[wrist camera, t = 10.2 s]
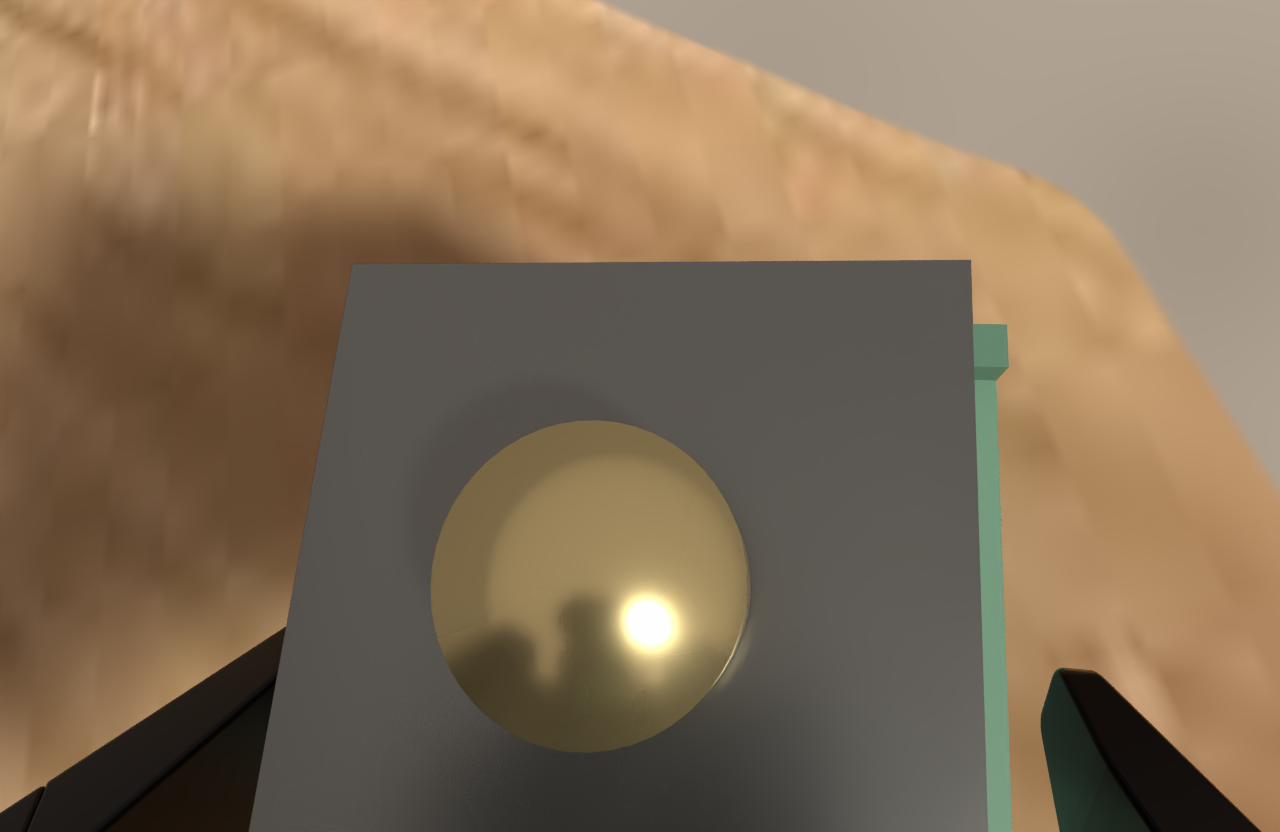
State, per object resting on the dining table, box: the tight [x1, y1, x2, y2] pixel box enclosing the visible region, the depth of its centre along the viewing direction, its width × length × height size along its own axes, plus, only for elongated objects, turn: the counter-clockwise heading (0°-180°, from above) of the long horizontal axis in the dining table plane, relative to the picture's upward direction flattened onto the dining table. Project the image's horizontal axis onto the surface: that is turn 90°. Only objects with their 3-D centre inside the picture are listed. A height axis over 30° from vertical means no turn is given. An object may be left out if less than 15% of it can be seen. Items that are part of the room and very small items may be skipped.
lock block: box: [249, 260, 988, 832], centre depth 11 cm, size 5×5×13 cm
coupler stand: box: [973, 324, 1012, 832], centre depth 18 cm, size 13×12×4 cm
